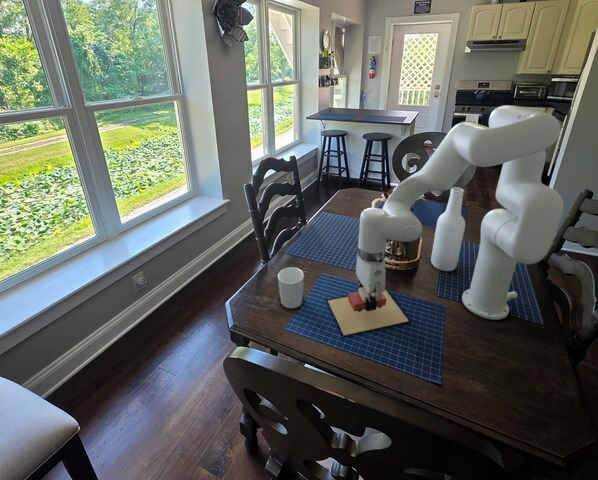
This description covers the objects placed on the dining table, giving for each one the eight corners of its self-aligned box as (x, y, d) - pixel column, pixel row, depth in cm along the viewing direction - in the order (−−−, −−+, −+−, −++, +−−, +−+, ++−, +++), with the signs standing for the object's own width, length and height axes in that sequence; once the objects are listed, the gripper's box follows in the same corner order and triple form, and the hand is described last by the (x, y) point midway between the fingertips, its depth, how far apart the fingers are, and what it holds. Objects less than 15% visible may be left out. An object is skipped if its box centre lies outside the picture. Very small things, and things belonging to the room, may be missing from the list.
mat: (385, 289, 105) (385, 289, 105) (408, 321, 93) (408, 320, 93) (327, 301, 101) (327, 300, 101) (344, 335, 89) (344, 335, 88)
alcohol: (450, 257, 121) (465, 184, 110) (460, 272, 113) (477, 194, 102) (427, 257, 122) (439, 184, 110) (435, 272, 114) (449, 194, 102)
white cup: (282, 312, 97) (281, 285, 93) (276, 295, 104) (275, 269, 100) (307, 307, 99) (306, 280, 95) (300, 290, 106) (299, 265, 102)
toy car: (377, 295, 99) (379, 283, 97) (385, 306, 95) (387, 294, 93) (347, 301, 97) (348, 288, 95) (354, 313, 93) (355, 300, 91)
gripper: (399, 267, 82) (392, 321, 89) (370, 234, 97) (365, 282, 104) (372, 272, 80) (367, 327, 87) (347, 237, 96) (344, 286, 103)
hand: (366, 302), depth 96 cm, fingers closed on toy car, 5 cm apart
